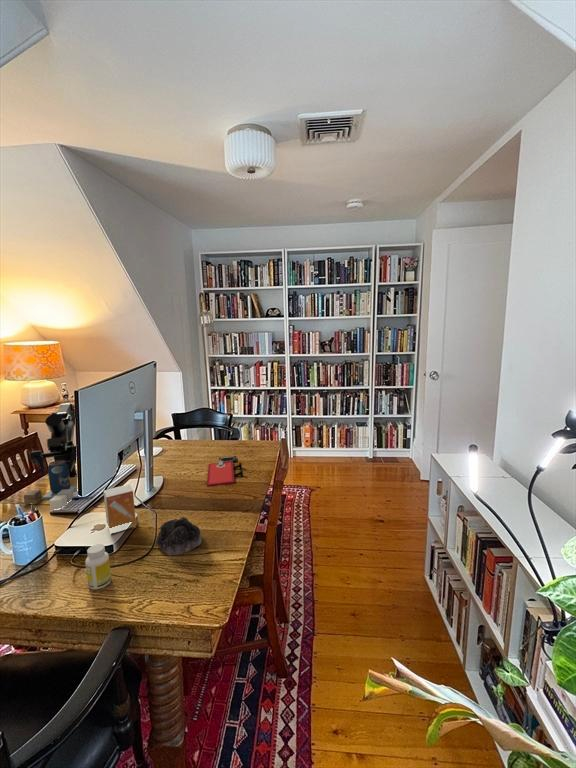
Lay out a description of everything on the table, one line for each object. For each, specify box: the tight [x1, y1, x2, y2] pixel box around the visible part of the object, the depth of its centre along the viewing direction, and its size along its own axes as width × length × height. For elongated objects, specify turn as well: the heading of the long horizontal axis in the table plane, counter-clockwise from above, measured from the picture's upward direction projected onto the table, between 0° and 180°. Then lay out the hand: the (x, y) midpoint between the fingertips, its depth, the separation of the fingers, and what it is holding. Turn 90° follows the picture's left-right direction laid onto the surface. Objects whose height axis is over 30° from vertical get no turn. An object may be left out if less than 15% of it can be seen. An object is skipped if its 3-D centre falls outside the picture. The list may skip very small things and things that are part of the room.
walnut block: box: [23, 489, 43, 505], centre depth 141 cm, size 4×4×4 cm
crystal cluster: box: [156, 516, 203, 556], centre depth 111 cm, size 13×14×10 cm
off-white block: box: [48, 495, 67, 511], centre depth 136 cm, size 4×4×4 cm
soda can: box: [47, 460, 72, 494], centre depth 147 cm, size 7×7×12 cm
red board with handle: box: [206, 455, 244, 487], centre depth 167 cm, size 30×3×15 cm
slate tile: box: [42, 485, 78, 501], centre depth 148 cm, size 9×9×1 cm
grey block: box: [57, 489, 75, 502], centre depth 141 cm, size 4×4×4 cm
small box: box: [103, 484, 137, 529], centre depth 121 cm, size 8×6×13 cm
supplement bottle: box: [84, 543, 112, 590], centre depth 95 cm, size 5×5×10 cm
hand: (57, 473), depth 145 cm, fingers open, 9 cm apart
